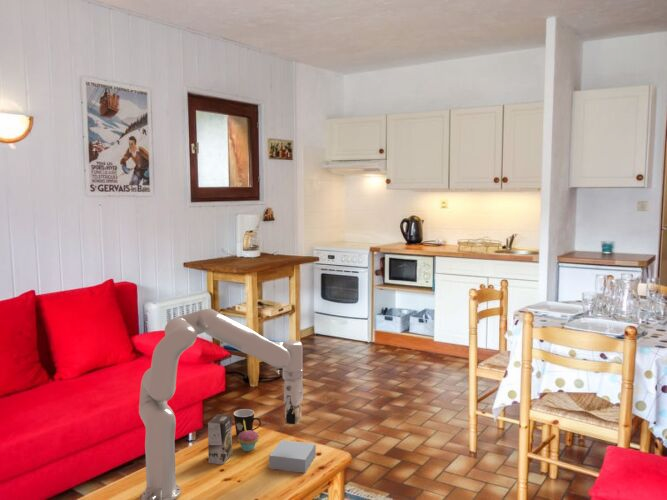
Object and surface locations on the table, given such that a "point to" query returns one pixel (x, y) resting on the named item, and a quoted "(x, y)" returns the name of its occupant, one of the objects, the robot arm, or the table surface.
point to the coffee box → (220, 438)
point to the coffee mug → (248, 418)
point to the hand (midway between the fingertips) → (293, 420)
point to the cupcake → (247, 439)
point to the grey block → (292, 456)
